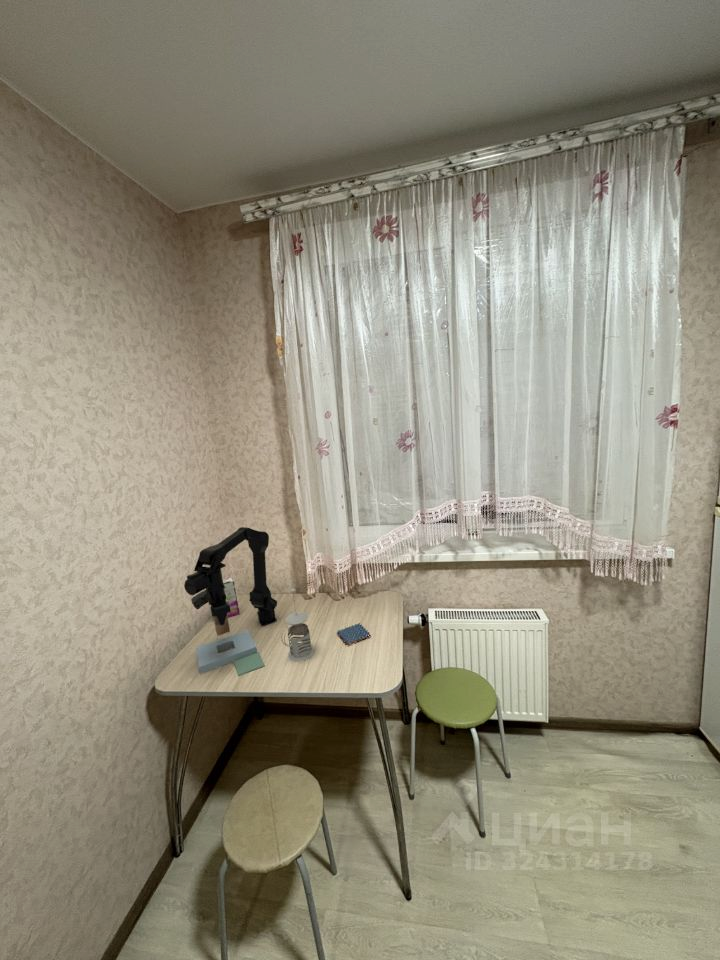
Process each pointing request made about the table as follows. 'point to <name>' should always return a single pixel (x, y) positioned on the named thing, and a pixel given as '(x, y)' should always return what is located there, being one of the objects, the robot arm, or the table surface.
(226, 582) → the candy bar box
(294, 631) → the french press
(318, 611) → the table surface
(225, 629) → the walnut block
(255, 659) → the green pad
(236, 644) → the pocket board
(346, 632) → the woven mat
